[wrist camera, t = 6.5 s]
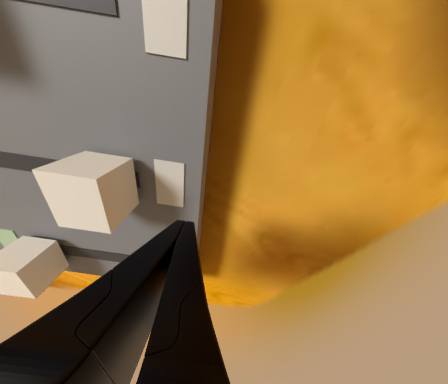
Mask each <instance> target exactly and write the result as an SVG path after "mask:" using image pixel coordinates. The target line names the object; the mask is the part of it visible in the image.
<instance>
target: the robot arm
mask: <svg viewBox="0 0 448 384" xmlns="http://www.w3.org/2000/svg"><path fill="white" fill-rule="evenodd" d="M150 332H151V334H150ZM149 334H150V338H149V341H148V345H147V349H146V352H145V358H144V360H143V363H142V367H141V370H140V373H139V377H138V380H137V383H136V384H230V381H229V378H228V375H227V372H226V369H225V365H224V362H223V358H222V355H221V352H220V348H219V345H218V341H217V338H216V334H215V331H214V328H213V324H212V320H211V317H210V313H209V309H208V304H207V299H206V294H205V288H204V283H203V275H202V269H201V262H200V256H199V250H198V243H197V237H196V230H195V224H194V222H191V221H186V222H185V221H184V220H176V221H174V222H173V223H172V224H170V225H169V226H168V227H167V228H165V229H164V230H163V231H161V232H160V233H159V234H157V235H156V236H155V237H153V238H152V239H151V240H149V241H148V242H147V243H145V244H144V245H143V246H141V247H140V248H139V249H137V250H136V251H135V252H133V253H132V254H131V255H129V256H128V257H127V258H125V259H124V260H123V261H121V262H120V263H119V264H117V265H116V266H115V267H113V269H112V270H109V271H108V272H107V273H105V274H104V275H103V276H101V277H100V278H99V279H97V280H96V281H94V282H93V283H92V284H90V285H89V286H88V287H86V288H85V289H83V290H82V291H80V292H79V293H77V294H76V295H74V296H73V297H71V298H70V299H68V300H67V301H65V302H64V303H62V304H61V305H59V306H58V307H56V308H55V309H53V310H52V311H50V312H49V313H47V314H46V315H44V316H42V317H41V318H39V319H38V320H36V321H35V322H33V323H32V324H30V325H29V326H27V327H26V328H24V329H22V330H21V331H19V332H18V333H16V334H15V335H13V336H12V337H10V338H9V339H7V340H5V341H4V342H2V343H0V384H130V381H131V379H132V377H133V374H134V372H135V369H136V367H137V364H138V362H139V359H140V357H141V354H142V352H143V349H144V347H145V344H146V342H147V339H148V337H149Z"/></svg>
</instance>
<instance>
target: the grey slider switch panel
mask: <svg viewBox="0 0 448 384" xmlns="http://www.w3.org/2000/svg"><path fill="white" fill-rule="evenodd" d="M222 7H223V0H0V250H1V249H3V248H5V247H6V246H8V245H9V244H11V243H12V242H14V241H15V240H17V239H18V238H20V237H22V236H29V237H36V238H43V239H50V240H57V242H58V244H59V246H60V248H61V250H62V252H63V254H64V256H65V258H66V260H67V262H68V264H69V266H68V267H67V268H66V269H65V270H64V271H72V272H79V273H86V274H93V275H100V276H103V275H104V274H105V273H107V272H108V271H109V270H112V269H113V267H115V266H116V265H117V264H119V263H120V262H121V261H123V260H124V259H125V258H127V257H128V256H129V255H131V254H132V253H133V252H135V251H136V250H137V249H139V248H140V247H141V246H143V245H144V244H145V243H147V242H148V241H149V240H151V239H152V238H153V237H155V236H156V235H157V234H159V233H160V232H161V231H163V230H164V229H165V228H167V227H168V226H169V225H170V224H172V223H173V222H174V221H176V220H184V221H185V222H186V221H191V222H194V224H195V230H196V237H197V243H198V250H199V251H200V241H201V230H202V219H203V209H204V198H205V187H206V177H207V166H208V156H209V145H210V134H211V124H212V113H213V102H214V92H215V81H216V70H217V60H218V49H219V38H220V28H221V17H222ZM84 151H90V152H96V153H103V154H109V155H116V156H123V157H129V158H133V164H134V171H135V178H136V185H137V192H138V199H139V204H138V205H137V206H136V207H135V208H134V209H133V210H132V212H131V213H130V214H129V215H128V216H127V217H126V218H125V219H124V220H123V221H122V222H121V224H120V225H119V226H118V227H117V228H116V229H115V230H114V231H113V232H112V233H111V234H108V233H101V232H94V231H87V230H80V229H73V228H66V227H59V226H58V224H57V222H56V220H55V218H54V216H53V214H52V212H51V210H50V208H49V206H48V203H47V201H46V199H45V197H44V195H43V193H42V191H41V189H40V187H39V184H38V182H37V180H36V178H35V176H34V174H33V172H32V169H35V168H38V167H41V166H44V165H47V164H49V163H52V162H55V161H58V160H61V159H64V158H66V157H69V156H72V155H75V154H78V153H81V152H84Z"/></svg>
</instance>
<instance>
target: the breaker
mask: <svg viewBox="0 0 448 384" xmlns="http://www.w3.org/2000/svg"><path fill="white" fill-rule="evenodd" d="M68 266H69V264H68V262H67V260H66V258H65V256H64V254H63V252H62V250H61V248H60V246H59V244H58V242H57V240H50V239H43V238H36V237H29V236H22V237H20V238H18V239H17V240H15V241H14V242H12V243H11V244H9V245H8V246H6V247H5V248H3V249H1V250H0V294H4V295H11V296H19V297H26V298H33V299H36V298H37V297H38V296H39V295H40V294H41V293H42V292H43V291H44V290H45V289H46V288H47V287H48V286H49V285H50V284H51V283H52V282H53V281H54V280H55V279H56V278H57V277H58V276H59V275H60V274H61V273H62V272H63V271H64V270H65V269H66V268H67V267H68Z"/></svg>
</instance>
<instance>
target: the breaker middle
mask: <svg viewBox="0 0 448 384" xmlns="http://www.w3.org/2000/svg"><path fill="white" fill-rule="evenodd" d="M32 172H33V174H34V176H35V178H36V180H37V182H38V184H39V187H40V189H41V191H42V193H43V195H44V197H45V199H46V201H47V203H48V206H49V208H50V210H51V212H52V214H53V216H54V218H55V220H56V222H57V224H58V226H59V227H66V228H73V229H80V230H87V231H94V232H101V233H108V234H111V233H112V232H113V231H114V230H115V229H116V228H117V227H118V226H119V225H120V224H121V222H122V221H123V220H124V219H125V218H126V217H127V216H128V215H129V214H130V213H131V212H132V210H133V209H134V208H135V207H136V206H137V205H138V204H139V199H138V192H137V185H136V178H135V171H134V164H133V158H129V157H123V156H116V155H109V154H103V153H96V152H90V151H84V152H81V153H78V154H75V155H72V156H69V157H66V158H64V159H61V160H58V161H55V162H52V163H49V164H47V165H44V166H41V167H38V168H35V169H32Z"/></svg>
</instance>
